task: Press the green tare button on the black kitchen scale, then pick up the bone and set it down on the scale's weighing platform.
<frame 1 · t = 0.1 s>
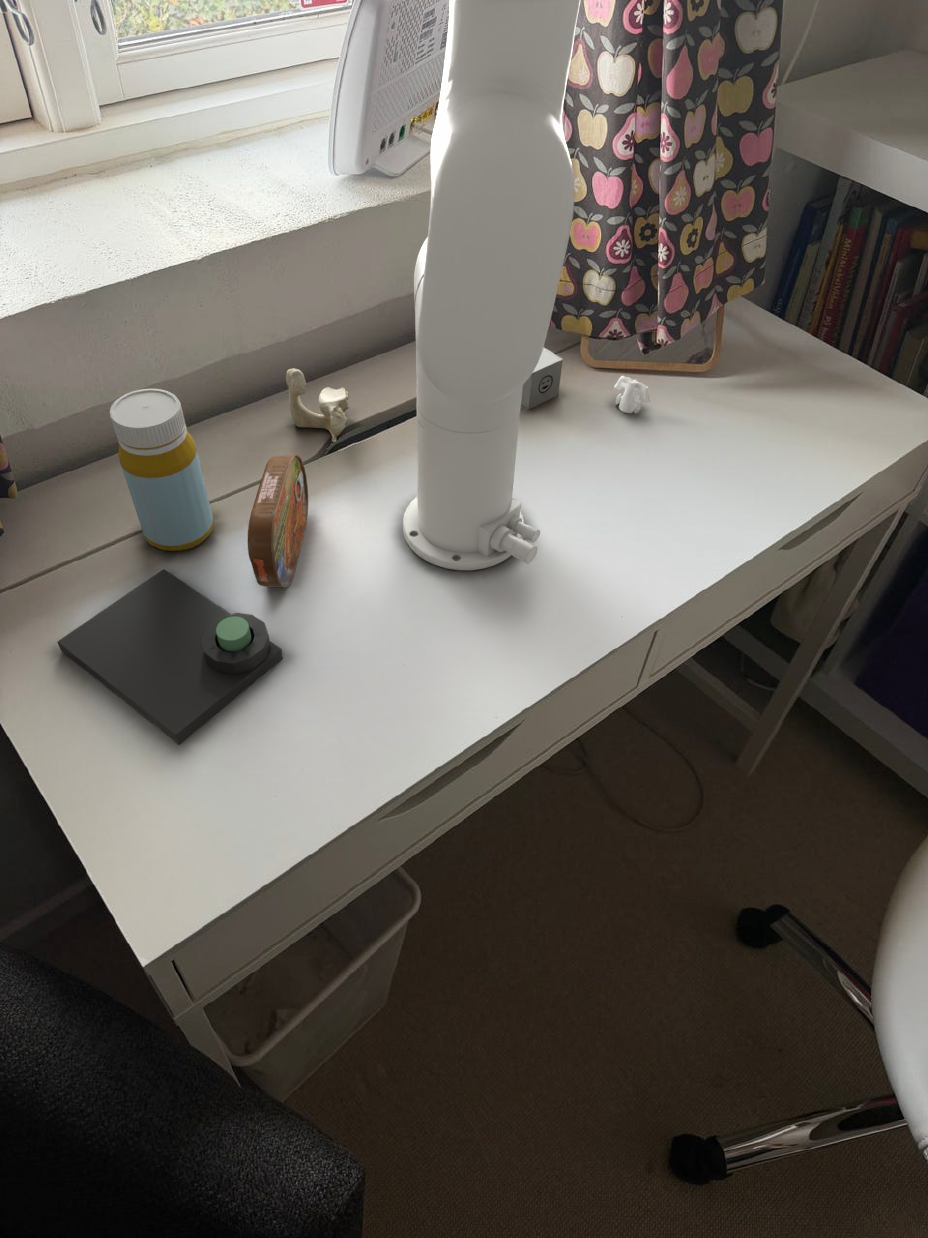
clip: (626, 409, 107), on the table
bottle: (180, 532, 91), on the table
bone: (329, 428, 103), on the table
tin: (285, 552, 89), on the table
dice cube: (529, 394, 109), on the table
scale: (172, 655, 79), on the table
tare button: (233, 634, 77), point 3 cm above the table, slide at 0.1 cm
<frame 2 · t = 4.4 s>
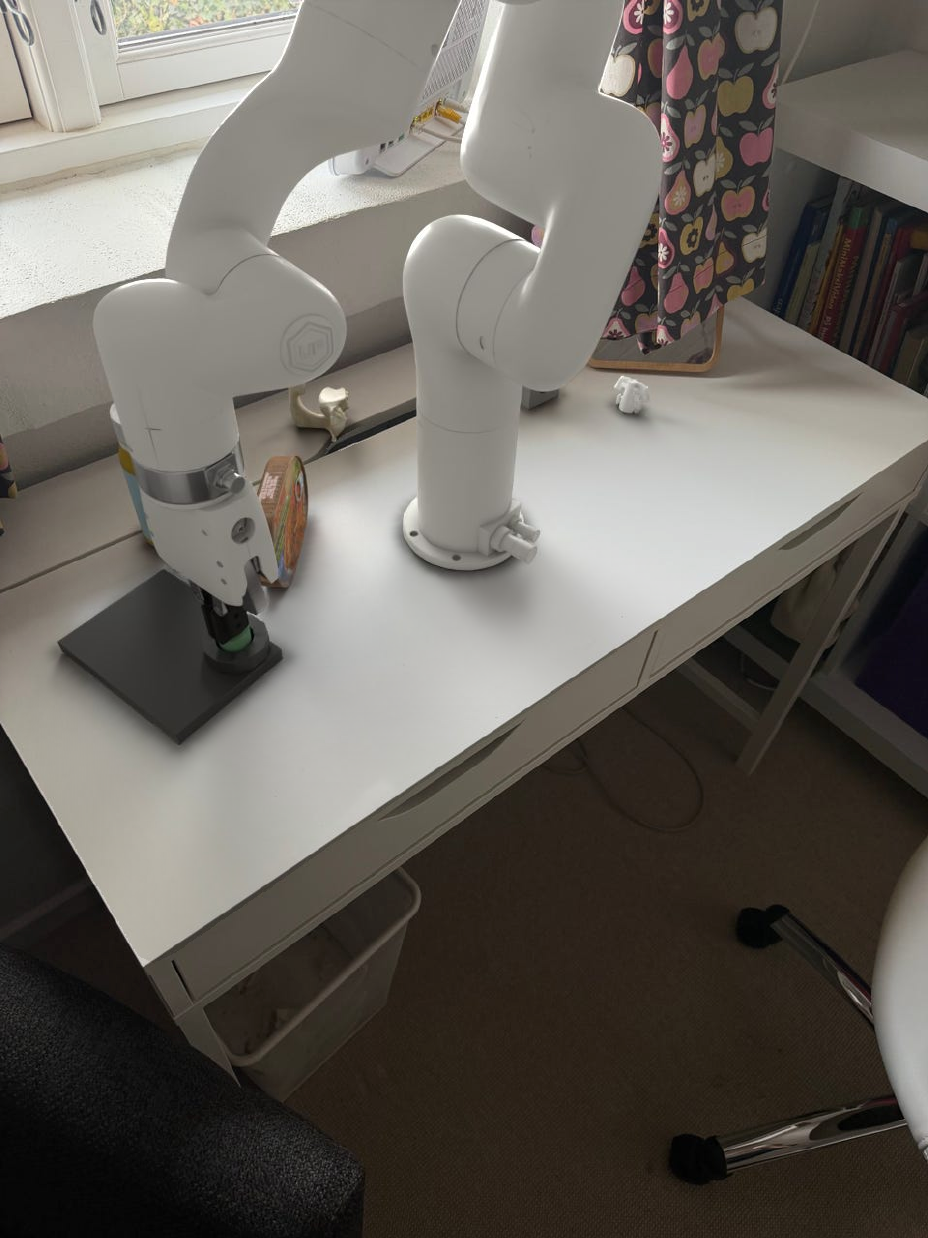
hand: (229, 631, 76), 4 cm above the table, tool pointing down, fingers closed
tare button: (234, 635, 77), point 3 cm above the table, slide at -0.1 cm, touching gripper
everything else where it was.
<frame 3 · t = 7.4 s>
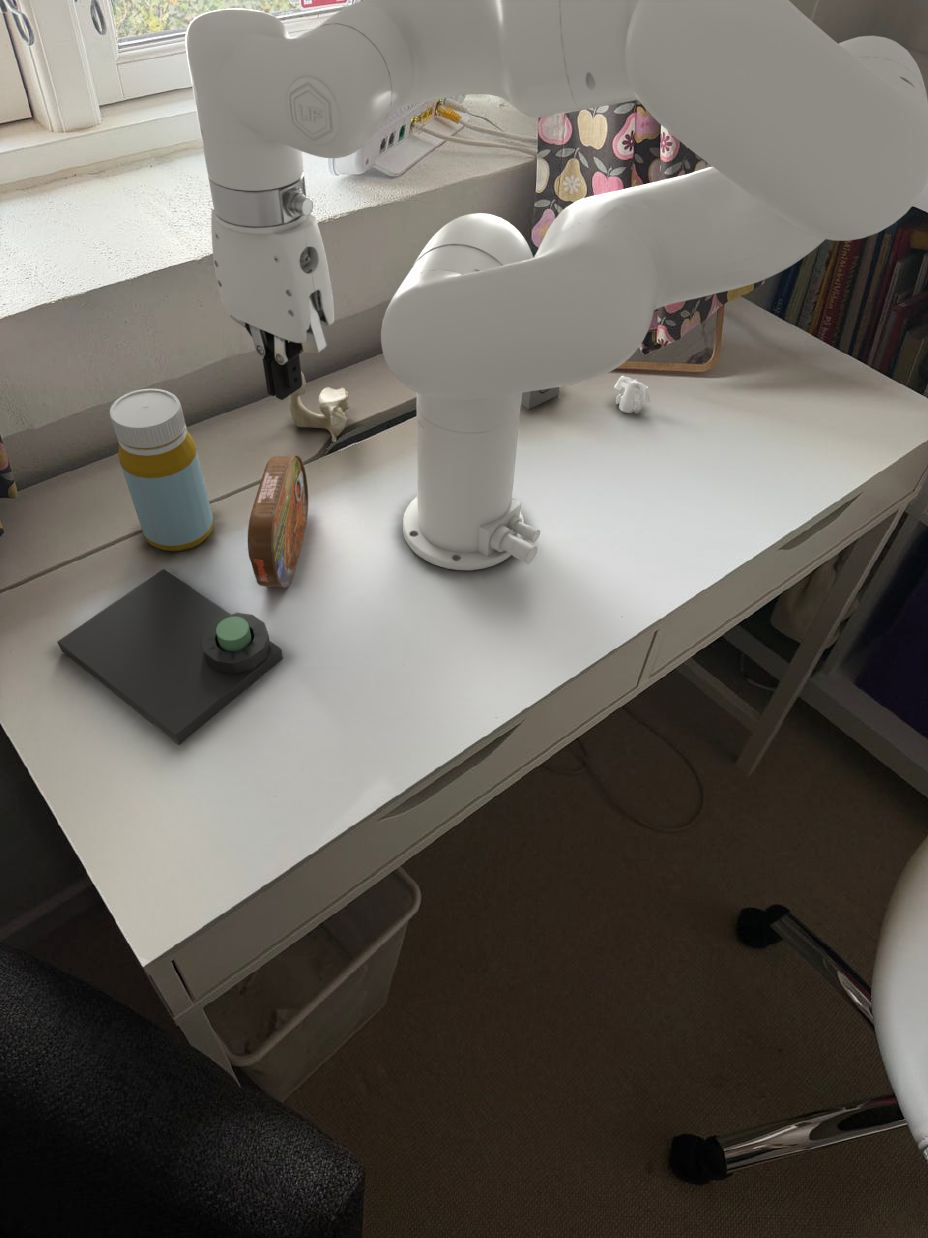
hand: (285, 390, 85), 13 cm above the table, tool pointing down, fingers closed
tare button: (233, 634, 77), point 3 cm above the table, slide at 0.1 cm
everything else where it was.
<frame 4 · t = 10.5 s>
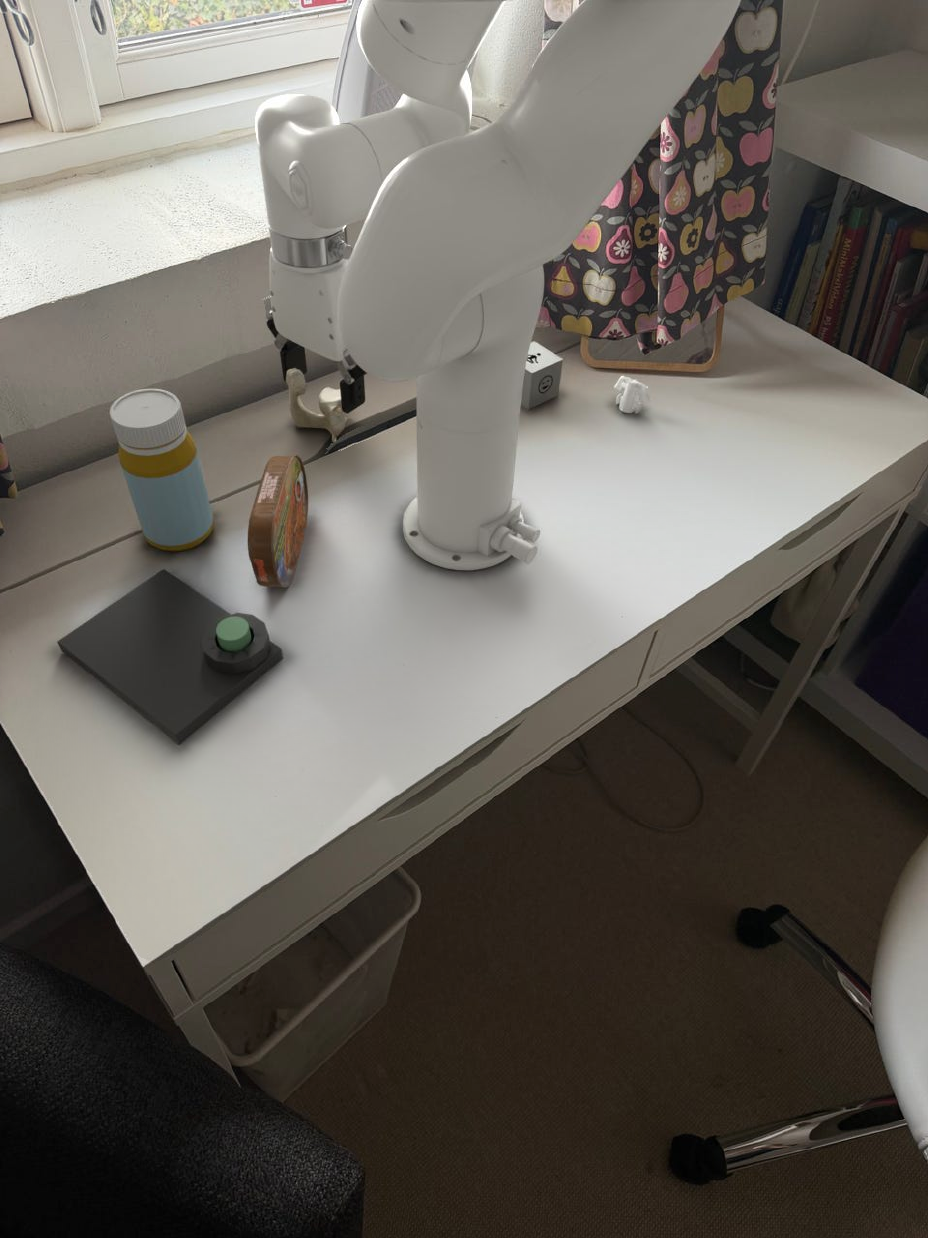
hand: (324, 391, 100), 5 cm above the table, tool pointing down, fingers closed on bone, 8 cm apart
bone: (329, 428, 103), on the table, touching gripper
everything else where it was.
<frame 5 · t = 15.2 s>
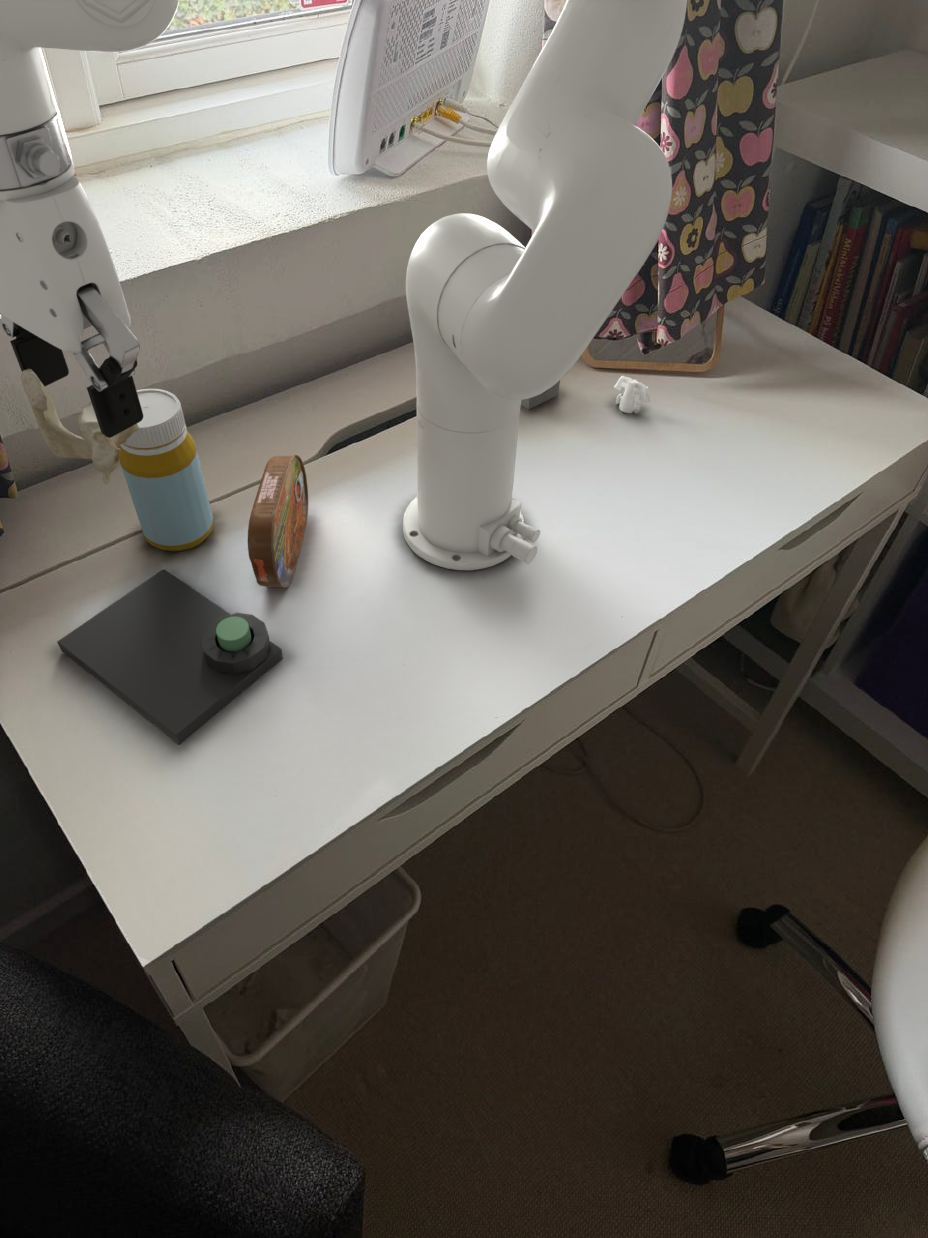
hand: (85, 403, 64), 24 cm above the table, tool pointing down, fingers closed on bone, 8 cm apart
bone: (105, 460, 68), point 19 cm above the table, touching gripper
everything else where it was.
when the fingers open (6 cm above the table, at t = 20.1 s): bone stays where it is, resting on scale.
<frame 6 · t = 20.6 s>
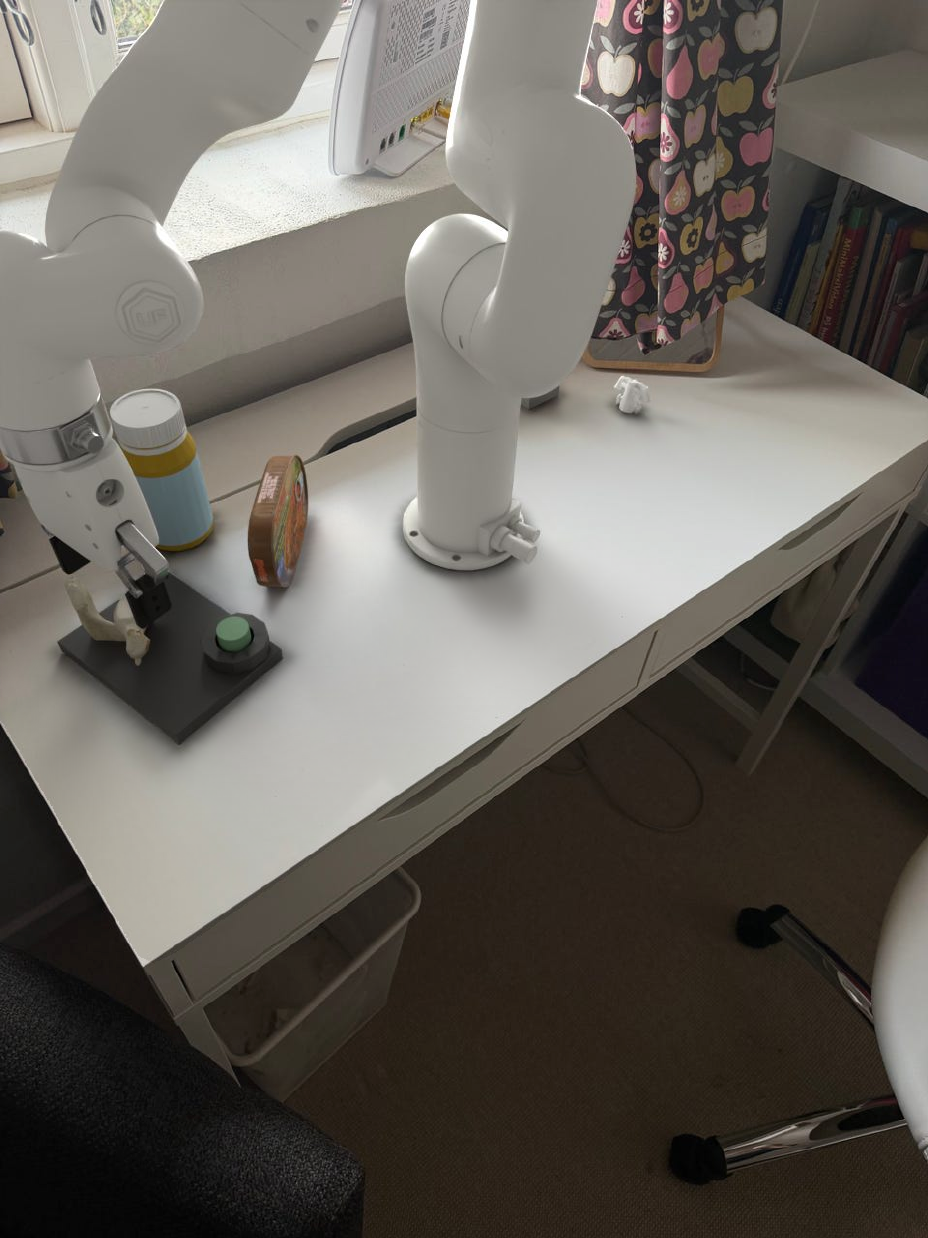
hand: (117, 590, 74), 8 cm above the table, tool pointing down, fingers open, 9 cm apart
bone: (136, 641, 79), point 1 cm above the table, touching scale
everything else where it was.
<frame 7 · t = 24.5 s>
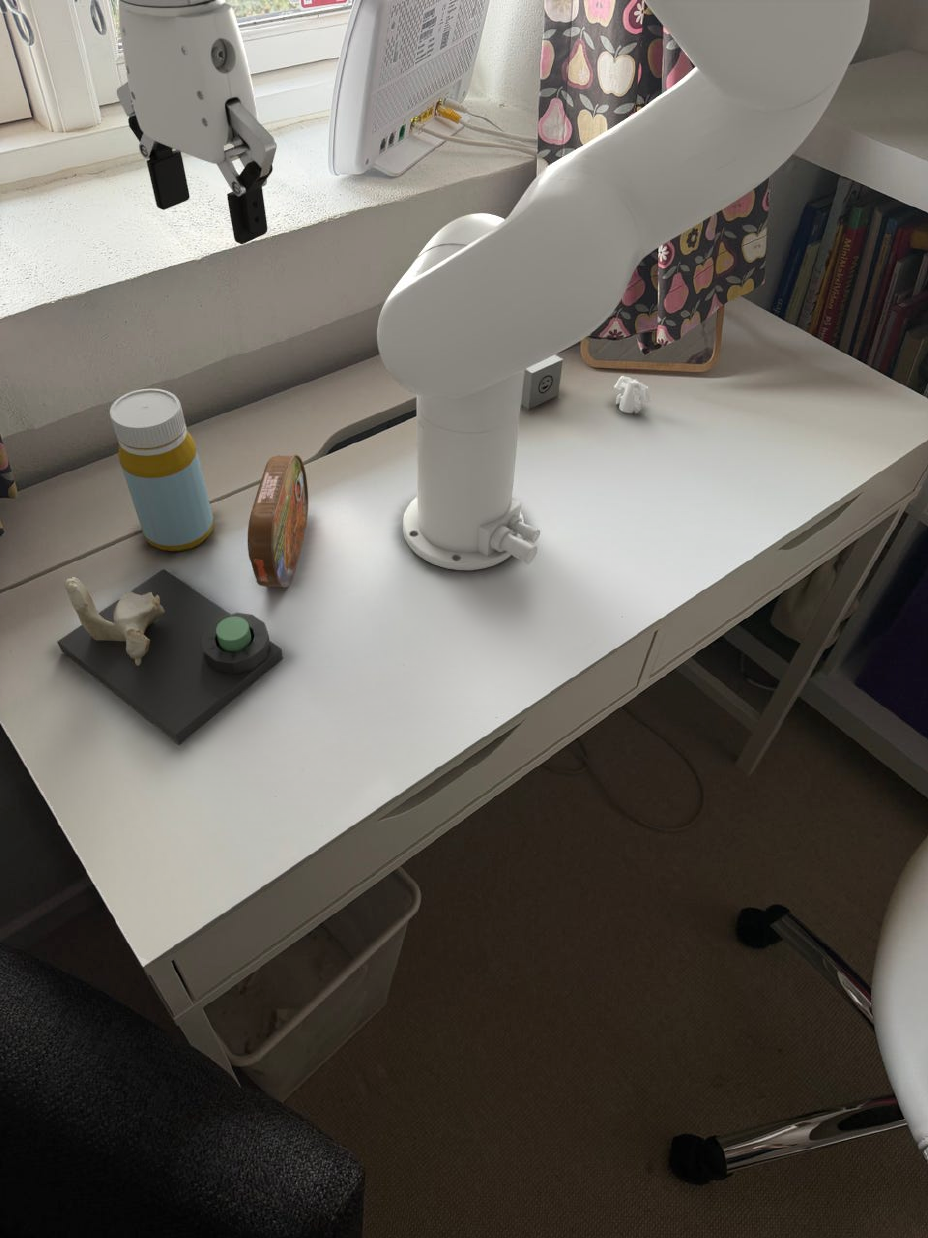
hand: (211, 220, 75), 28 cm above the table, tool pointing down, fingers open, 9 cm apart
nothing on the table moved.
at the end: tare button pushed in 0.9 cm at the most during the clip, back to where it started at the end; tare button slide at 0.1 cm; bone inside the target area on the scale (0.0 cm from its centre), point 1.2 cm above the scale's base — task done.
